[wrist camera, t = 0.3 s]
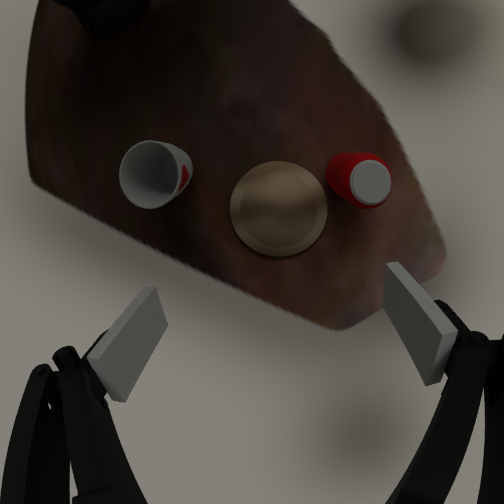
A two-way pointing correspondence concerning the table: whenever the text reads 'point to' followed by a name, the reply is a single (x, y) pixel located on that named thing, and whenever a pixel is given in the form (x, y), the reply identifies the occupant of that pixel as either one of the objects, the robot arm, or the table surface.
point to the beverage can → (360, 178)
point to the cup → (154, 173)
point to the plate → (278, 208)
